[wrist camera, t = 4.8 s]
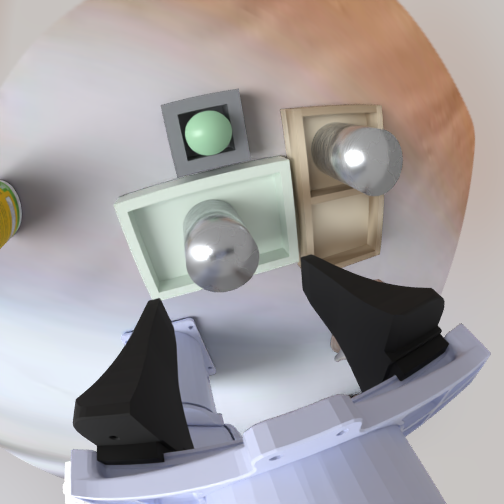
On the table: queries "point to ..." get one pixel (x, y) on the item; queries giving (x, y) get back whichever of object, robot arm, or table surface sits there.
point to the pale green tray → (200, 189)
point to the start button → (208, 132)
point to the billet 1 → (218, 247)
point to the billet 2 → (358, 156)
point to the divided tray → (330, 190)
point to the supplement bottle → (8, 212)
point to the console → (185, 109)
